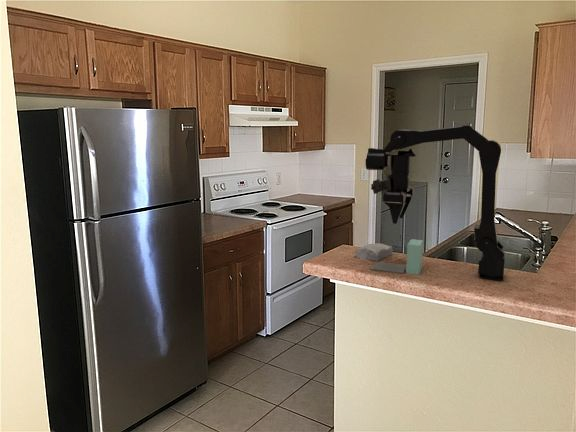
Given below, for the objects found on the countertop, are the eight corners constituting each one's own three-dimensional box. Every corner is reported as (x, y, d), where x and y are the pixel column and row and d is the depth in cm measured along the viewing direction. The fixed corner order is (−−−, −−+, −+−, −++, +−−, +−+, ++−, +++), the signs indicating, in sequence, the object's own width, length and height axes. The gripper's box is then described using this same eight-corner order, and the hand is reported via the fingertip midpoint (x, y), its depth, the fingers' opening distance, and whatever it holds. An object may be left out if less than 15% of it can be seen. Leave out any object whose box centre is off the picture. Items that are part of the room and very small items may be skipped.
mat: (407, 266, 152) (407, 265, 152) (403, 273, 144) (403, 272, 144) (376, 262, 156) (376, 261, 155) (370, 269, 148) (370, 268, 148)
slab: (421, 268, 150) (423, 240, 148) (418, 274, 144) (419, 245, 142) (409, 266, 151) (411, 239, 150) (406, 273, 145) (407, 244, 143)
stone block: (353, 262, 163) (379, 262, 156) (351, 248, 162) (377, 247, 156) (369, 256, 172) (395, 255, 166) (367, 243, 172) (393, 241, 166)
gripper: (381, 167, 158) (379, 213, 161) (366, 172, 142) (364, 224, 145) (415, 168, 154) (413, 216, 157) (404, 174, 137) (401, 227, 140)
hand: (398, 220), depth 150 cm, fingers open, 9 cm apart
